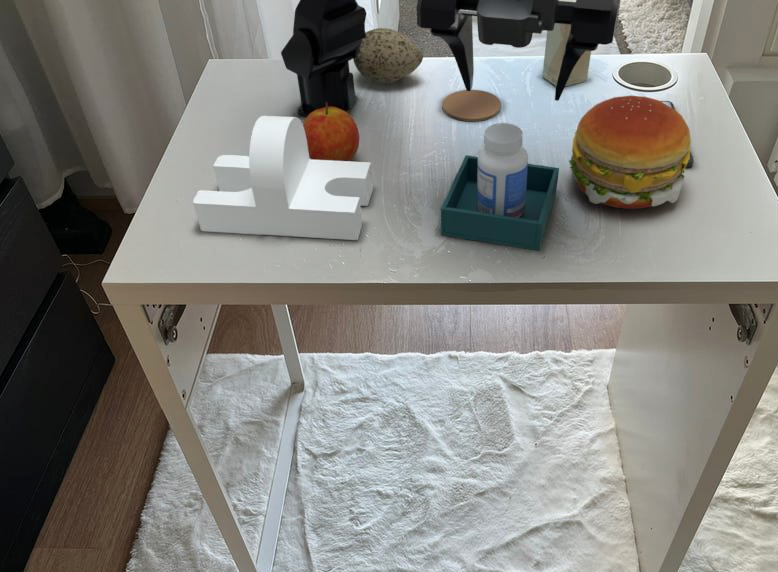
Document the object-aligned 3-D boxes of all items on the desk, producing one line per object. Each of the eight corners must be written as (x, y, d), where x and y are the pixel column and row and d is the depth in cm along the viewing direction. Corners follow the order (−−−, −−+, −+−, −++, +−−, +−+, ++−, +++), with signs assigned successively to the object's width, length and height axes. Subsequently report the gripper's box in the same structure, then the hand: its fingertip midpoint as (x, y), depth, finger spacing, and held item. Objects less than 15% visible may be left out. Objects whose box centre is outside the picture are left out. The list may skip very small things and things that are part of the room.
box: (558, 89, 107) (566, 8, 99) (541, 76, 110) (548, -4, 102) (589, 80, 109) (600, 0, 101) (571, 68, 112) (581, -11, 104)
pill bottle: (525, 197, 89) (531, 120, 82) (524, 225, 85) (530, 147, 78) (477, 195, 89) (479, 118, 82) (474, 223, 85) (476, 145, 78)
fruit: (352, 181, 92) (345, 121, 87) (297, 175, 94) (287, 115, 88) (368, 151, 97) (363, 91, 91) (315, 145, 98) (307, 86, 92)
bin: (440, 235, 85) (440, 208, 82) (465, 180, 92) (465, 154, 90) (539, 250, 83) (542, 224, 80) (556, 193, 90) (559, 167, 87)
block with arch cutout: (372, 189, 91) (365, 103, 83) (357, 240, 84) (347, 151, 76) (226, 181, 93) (205, 96, 85) (199, 230, 86) (174, 142, 78)
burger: (612, 140, 97) (625, 65, 90) (706, 184, 91) (728, 106, 83) (543, 185, 91) (551, 108, 84) (638, 236, 84) (656, 157, 77)
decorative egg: (344, 28, 104) (415, 30, 102) (361, 25, 110) (429, 27, 108) (346, 84, 107) (415, 87, 105) (363, 78, 113) (428, 81, 111)
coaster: (435, 117, 103) (435, 114, 102) (450, 89, 108) (450, 86, 108) (493, 125, 101) (494, 122, 101) (506, 96, 106) (506, 93, 106)
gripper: (396, -47, 65) (404, 122, 76) (620, -31, 61) (594, 145, 72) (430, -89, 72) (433, 71, 83) (632, -76, 68) (607, 89, 80)
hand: (512, 94), depth 79 cm, fingers open, 9 cm apart
